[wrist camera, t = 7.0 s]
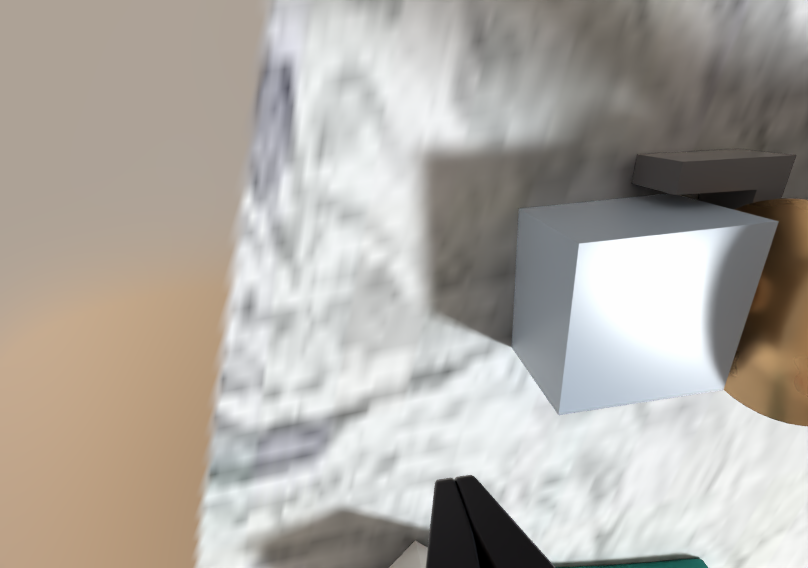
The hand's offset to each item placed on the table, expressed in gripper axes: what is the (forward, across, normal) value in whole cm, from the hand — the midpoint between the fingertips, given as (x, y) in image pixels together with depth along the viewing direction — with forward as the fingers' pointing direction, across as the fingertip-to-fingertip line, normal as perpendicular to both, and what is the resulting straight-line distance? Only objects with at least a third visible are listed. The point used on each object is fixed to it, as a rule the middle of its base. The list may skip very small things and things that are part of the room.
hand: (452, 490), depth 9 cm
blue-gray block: (+10, -9, 0) cm, 14 cm away
